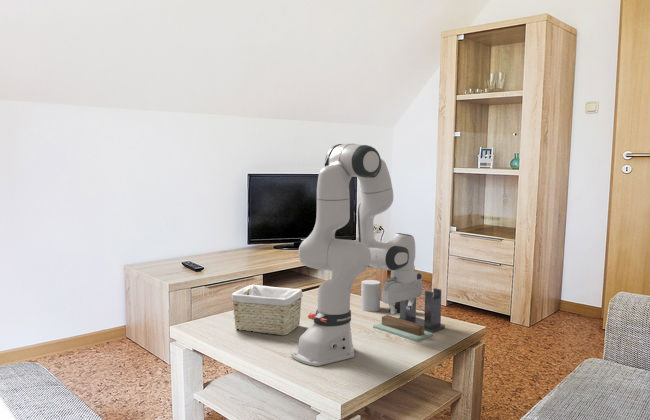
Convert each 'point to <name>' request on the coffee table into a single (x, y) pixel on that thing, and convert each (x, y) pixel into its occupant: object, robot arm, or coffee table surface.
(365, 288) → the white cylinder
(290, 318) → the storage basket
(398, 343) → the coffee table surface
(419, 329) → the rail
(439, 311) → the hook stand
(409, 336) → the mat
